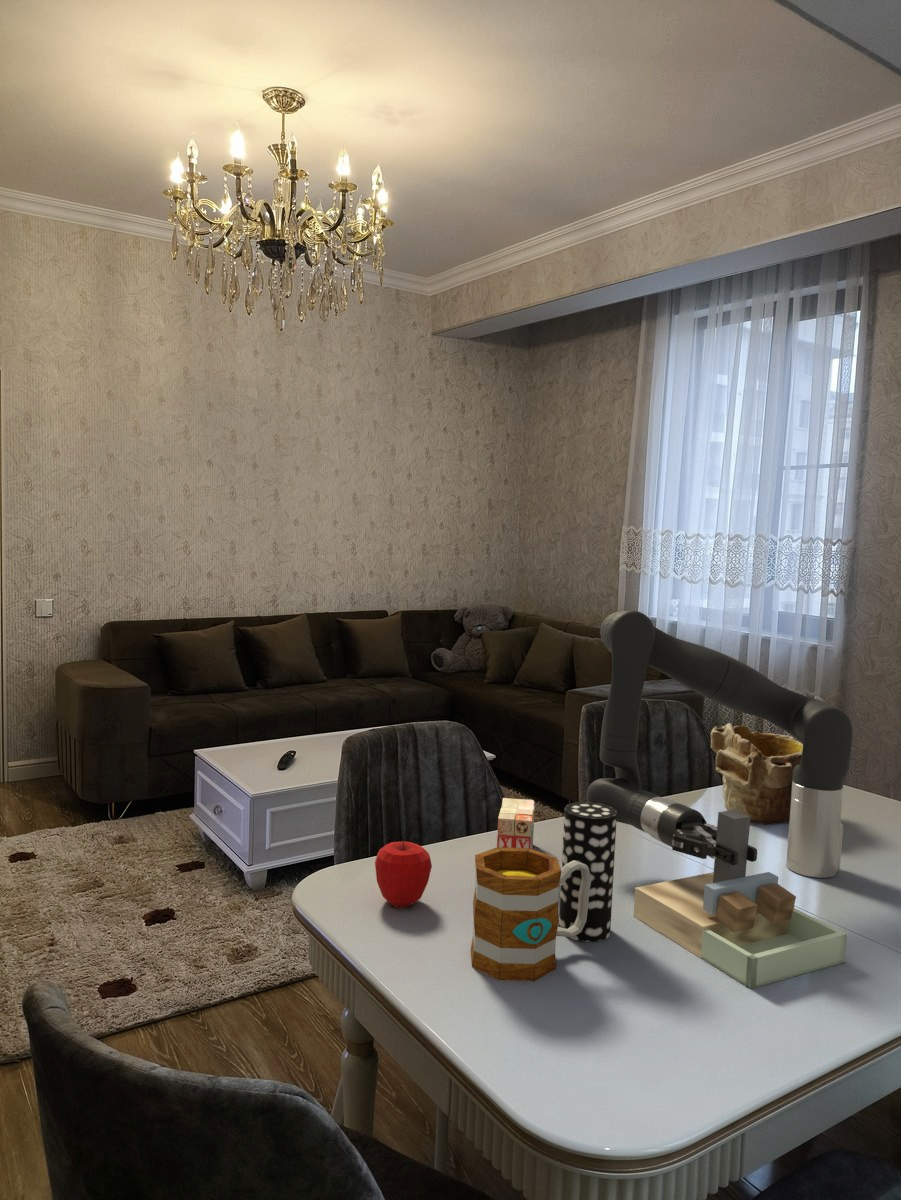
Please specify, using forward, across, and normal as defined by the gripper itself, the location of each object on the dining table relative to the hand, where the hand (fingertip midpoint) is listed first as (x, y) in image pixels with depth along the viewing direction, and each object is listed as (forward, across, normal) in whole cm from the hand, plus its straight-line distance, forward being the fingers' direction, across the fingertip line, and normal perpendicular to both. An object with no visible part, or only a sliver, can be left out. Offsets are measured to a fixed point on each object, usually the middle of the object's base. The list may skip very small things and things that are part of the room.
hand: (745, 857), depth 142 cm
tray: (+7, 0, +14) cm, 15 cm away
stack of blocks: (-43, -16, +14) cm, 48 cm away
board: (-6, 0, +14) cm, 15 cm away
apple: (-34, -44, +14) cm, 58 cm away
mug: (-9, -34, +14) cm, 38 cm away
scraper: (-3, 0, +8) cm, 9 cm away
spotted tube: (-13, -21, +14) cm, 29 cm away
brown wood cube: (+2, +4, +9) cm, 10 cm away
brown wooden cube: (+2, -4, +9) cm, 10 cm away
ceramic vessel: (-45, +53, +14) cm, 71 cm away
